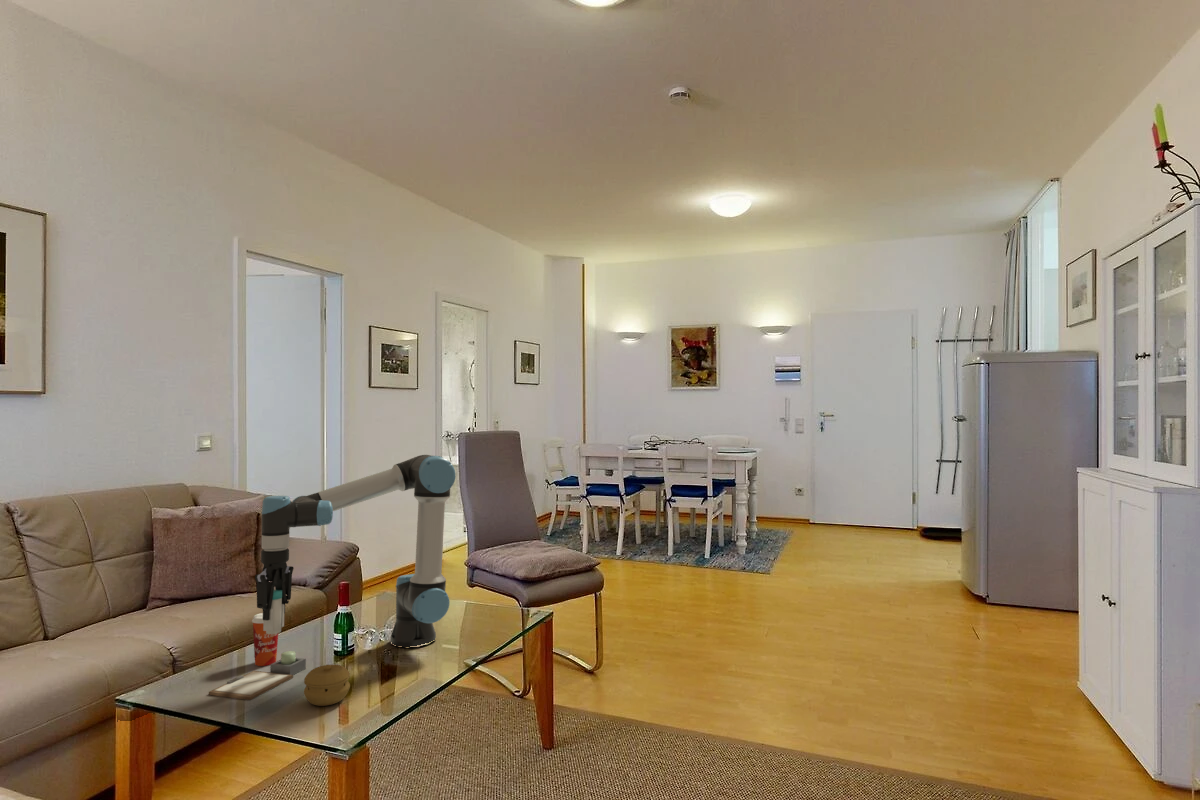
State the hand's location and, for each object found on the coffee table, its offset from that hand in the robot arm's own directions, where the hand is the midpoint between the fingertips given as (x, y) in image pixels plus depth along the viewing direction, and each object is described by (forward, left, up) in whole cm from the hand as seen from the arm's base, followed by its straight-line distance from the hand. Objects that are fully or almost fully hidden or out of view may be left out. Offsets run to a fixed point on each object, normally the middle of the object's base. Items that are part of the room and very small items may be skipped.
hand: (273, 628), depth 205 cm
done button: (+1, -8, -14) cm, 15 cm away
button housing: (+1, -8, -15) cm, 17 cm away
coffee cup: (+13, -12, -16) cm, 24 cm away
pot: (-25, +9, -16) cm, 31 cm away
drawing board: (+3, +5, -15) cm, 16 cm away
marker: (0, 0, -1) cm, 1 cm away
